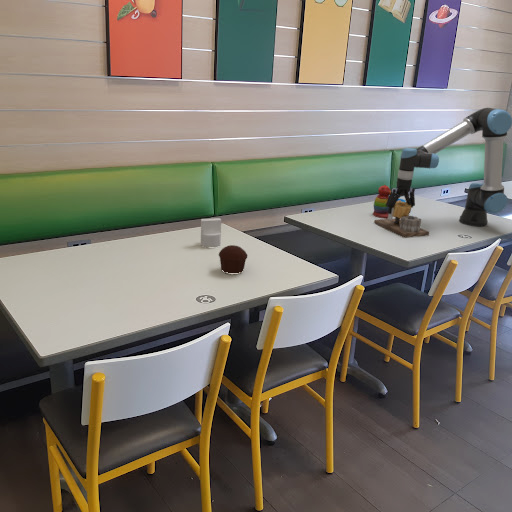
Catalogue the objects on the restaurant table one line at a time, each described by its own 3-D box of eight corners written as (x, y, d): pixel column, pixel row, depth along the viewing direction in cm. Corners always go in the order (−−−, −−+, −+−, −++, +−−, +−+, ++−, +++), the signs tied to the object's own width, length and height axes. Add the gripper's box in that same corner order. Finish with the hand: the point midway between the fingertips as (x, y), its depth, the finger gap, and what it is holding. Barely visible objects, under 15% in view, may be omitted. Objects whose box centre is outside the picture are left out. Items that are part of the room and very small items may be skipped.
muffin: (252, 271, 204) (254, 247, 200) (233, 278, 196) (234, 253, 192) (231, 263, 211) (232, 240, 208) (212, 269, 203) (212, 245, 200)
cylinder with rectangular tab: (217, 241, 237) (217, 216, 233) (223, 247, 229) (223, 221, 225) (198, 242, 234) (198, 217, 230) (203, 248, 226) (204, 222, 222)
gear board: (397, 221, 287) (400, 206, 284) (428, 235, 264) (431, 218, 261) (374, 223, 281) (376, 207, 278) (403, 237, 258) (406, 220, 255)
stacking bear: (386, 219, 290) (391, 188, 284) (369, 215, 295) (373, 185, 289) (392, 215, 299) (396, 185, 293) (375, 212, 304) (379, 182, 298)
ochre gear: (400, 209, 278) (403, 199, 275) (411, 218, 271) (414, 208, 268) (385, 210, 275) (388, 200, 272) (396, 219, 267) (399, 209, 264)
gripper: (417, 176, 273) (410, 216, 281) (382, 177, 265) (376, 218, 272) (426, 179, 267) (419, 220, 274) (391, 180, 258) (384, 222, 266)
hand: (398, 219), depth 273 cm, fingers closed on ochre gear, 10 cm apart
